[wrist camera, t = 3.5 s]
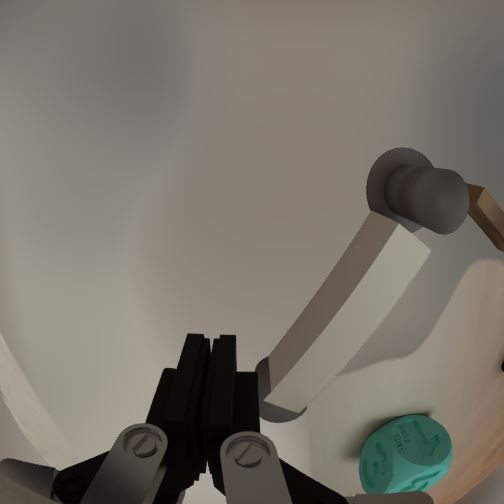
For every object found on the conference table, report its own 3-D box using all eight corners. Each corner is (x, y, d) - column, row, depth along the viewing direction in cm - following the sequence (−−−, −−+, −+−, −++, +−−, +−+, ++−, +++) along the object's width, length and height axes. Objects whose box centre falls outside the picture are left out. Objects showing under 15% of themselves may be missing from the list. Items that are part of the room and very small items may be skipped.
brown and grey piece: (504, 236, 19) (542, 253, 14) (468, 297, 21) (502, 325, 16) (397, 122, 17) (440, 114, 12) (350, 202, 18) (382, 218, 14)
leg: (368, 208, 18) (395, 220, 14) (404, 235, 19) (434, 253, 15) (246, 377, 22) (245, 413, 18) (283, 392, 23) (287, 427, 19)
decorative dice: (435, 409, 25) (463, 457, 18) (406, 450, 28) (425, 494, 20) (379, 417, 25) (403, 475, 17) (353, 458, 27) (367, 509, 20)
